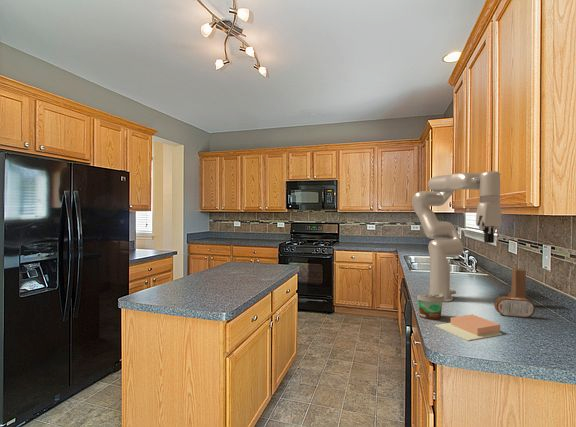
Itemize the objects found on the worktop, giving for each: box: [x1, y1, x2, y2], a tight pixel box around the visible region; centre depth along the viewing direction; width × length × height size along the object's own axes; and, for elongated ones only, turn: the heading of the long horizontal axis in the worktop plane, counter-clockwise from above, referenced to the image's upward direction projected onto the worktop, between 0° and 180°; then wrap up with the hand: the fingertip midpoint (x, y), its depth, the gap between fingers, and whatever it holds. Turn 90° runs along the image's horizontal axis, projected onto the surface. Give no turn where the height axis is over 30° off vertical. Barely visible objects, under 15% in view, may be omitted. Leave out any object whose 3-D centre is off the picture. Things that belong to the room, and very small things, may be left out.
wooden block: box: [506, 268, 527, 298], centre depth 156 cm, size 9×4×18 cm, turn 166°
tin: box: [493, 295, 536, 319], centre depth 138 cm, size 15×3×8 cm, turn 75°
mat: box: [434, 322, 503, 342], centre depth 122 cm, size 18×15×1 cm
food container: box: [416, 293, 444, 321], centre depth 135 cm, size 12×6×10 cm, turn 105°
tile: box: [450, 313, 501, 336], centre depth 123 cm, size 3×12×12 cm
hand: (488, 242), depth 134 cm, fingers closed
